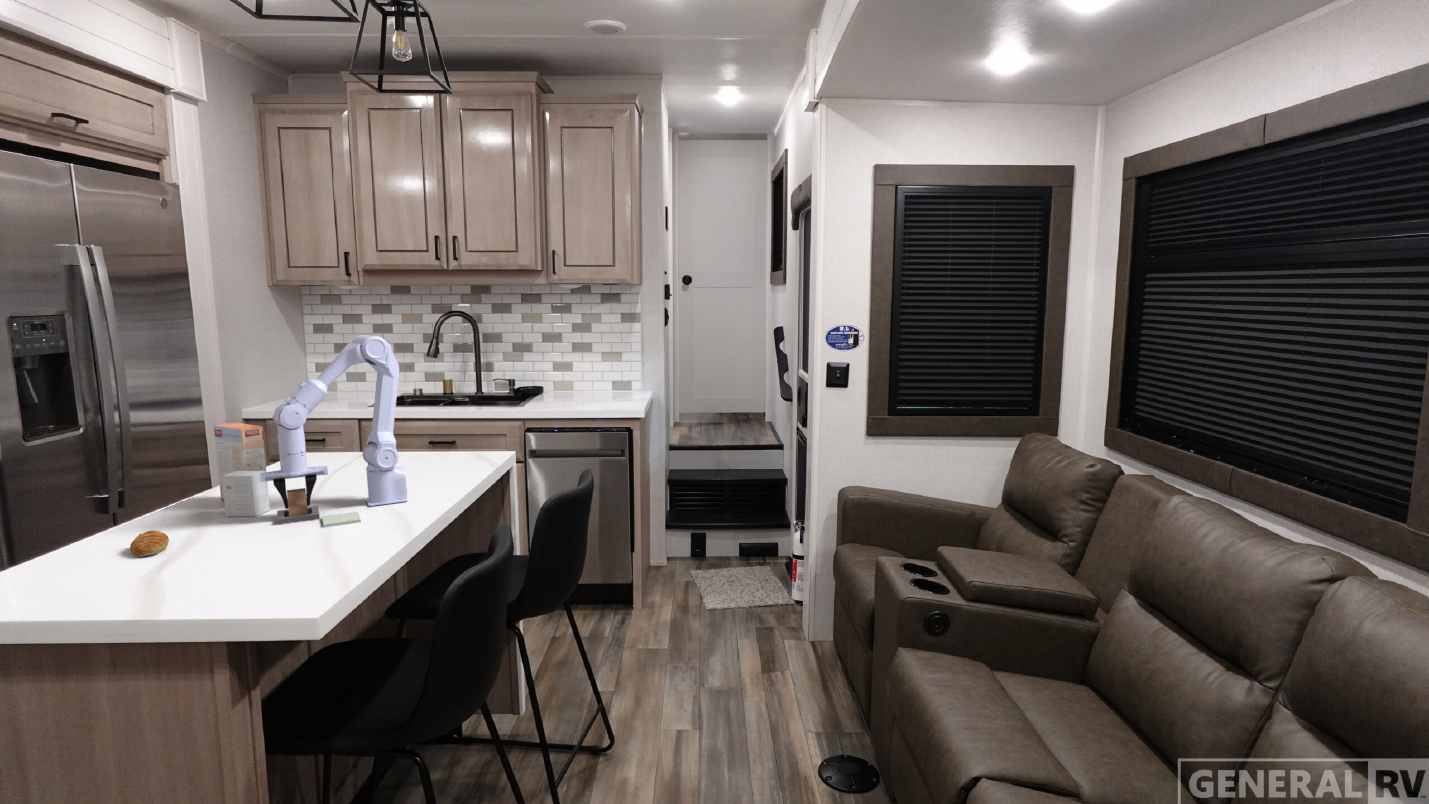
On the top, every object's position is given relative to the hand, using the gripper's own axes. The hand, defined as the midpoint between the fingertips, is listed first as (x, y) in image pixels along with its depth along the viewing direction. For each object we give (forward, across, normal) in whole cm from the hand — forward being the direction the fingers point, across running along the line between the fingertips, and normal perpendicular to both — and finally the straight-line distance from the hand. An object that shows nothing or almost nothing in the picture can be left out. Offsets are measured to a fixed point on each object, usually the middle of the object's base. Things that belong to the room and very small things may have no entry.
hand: (297, 506), depth 185 cm
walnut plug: (+2, 0, 0) cm, 2 cm away
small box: (+3, -11, +10) cm, 16 cm away
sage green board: (+3, +9, -8) cm, 13 cm away
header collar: (+3, 0, 0) cm, 3 cm away
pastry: (+3, -28, -11) cm, 31 cm away
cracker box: (+3, -12, +24) cm, 27 cm away
